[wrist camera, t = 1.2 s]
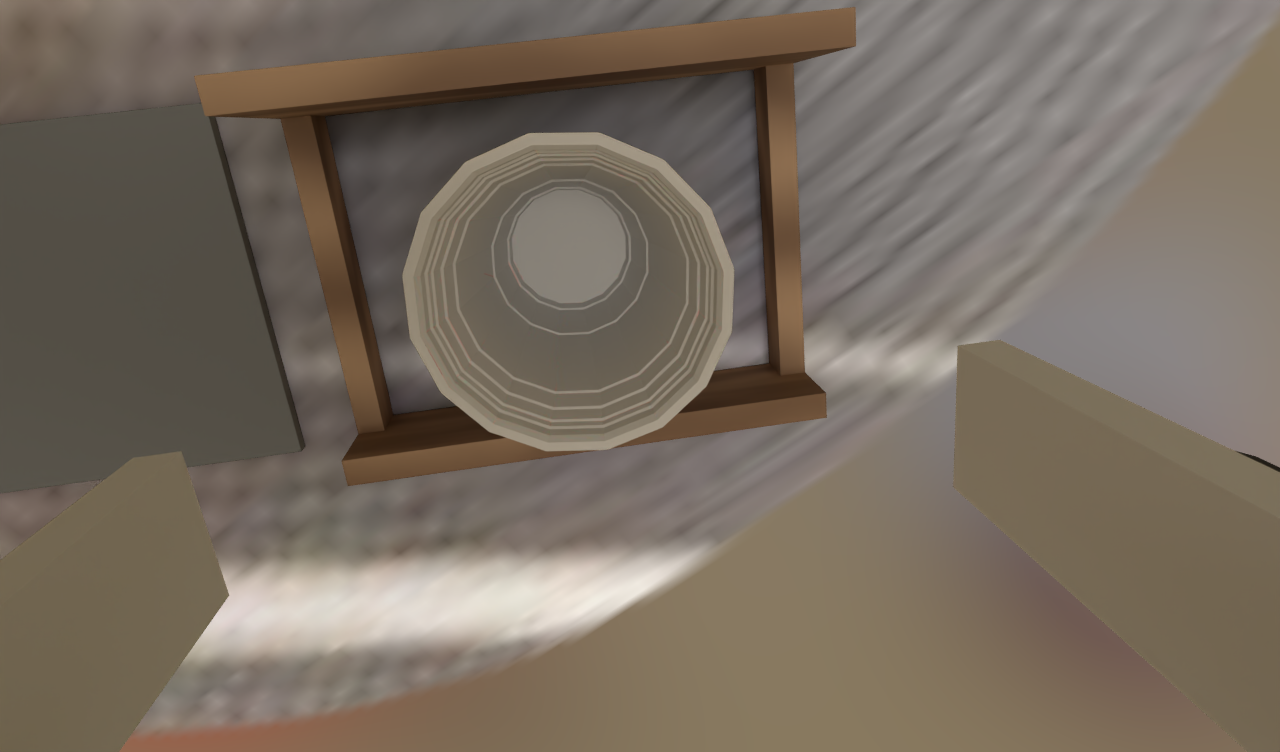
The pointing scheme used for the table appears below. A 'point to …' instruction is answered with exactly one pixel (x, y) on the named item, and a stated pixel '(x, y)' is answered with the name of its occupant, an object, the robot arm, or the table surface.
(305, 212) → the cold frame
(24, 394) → the mat
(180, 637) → the robot arm
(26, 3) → the table surface
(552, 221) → the plastic cup
